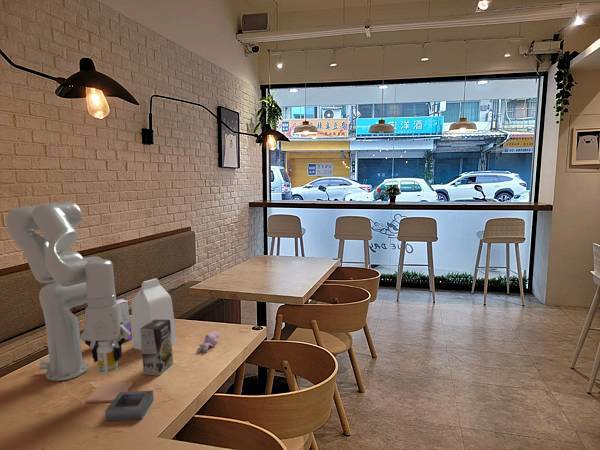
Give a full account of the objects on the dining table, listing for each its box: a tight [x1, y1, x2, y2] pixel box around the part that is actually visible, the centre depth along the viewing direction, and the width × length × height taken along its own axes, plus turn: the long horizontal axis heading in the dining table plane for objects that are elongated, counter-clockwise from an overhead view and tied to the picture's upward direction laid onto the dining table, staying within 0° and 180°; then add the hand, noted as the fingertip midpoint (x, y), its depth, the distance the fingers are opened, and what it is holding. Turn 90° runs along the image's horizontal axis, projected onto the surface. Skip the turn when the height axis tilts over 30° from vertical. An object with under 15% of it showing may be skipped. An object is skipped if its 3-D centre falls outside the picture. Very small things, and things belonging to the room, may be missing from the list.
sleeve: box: [104, 390, 154, 422], centre depth 116 cm, size 10×10×3 cm
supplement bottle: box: [97, 340, 119, 375], centre depth 124 cm, size 5×5×10 cm
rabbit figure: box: [196, 331, 221, 355], centre depth 158 cm, size 6×6×15 cm
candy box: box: [98, 298, 133, 345], centre depth 163 cm, size 14×6×16 cm, turn 141°
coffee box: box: [140, 320, 174, 376], centre depth 140 cm, size 9×6×16 cm
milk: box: [131, 277, 178, 351], centre depth 160 cm, size 12×12×26 cm
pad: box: [85, 381, 134, 404], centre depth 126 cm, size 10×10×1 cm
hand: (107, 359), depth 124 cm, fingers closed on supplement bottle, 5 cm apart
